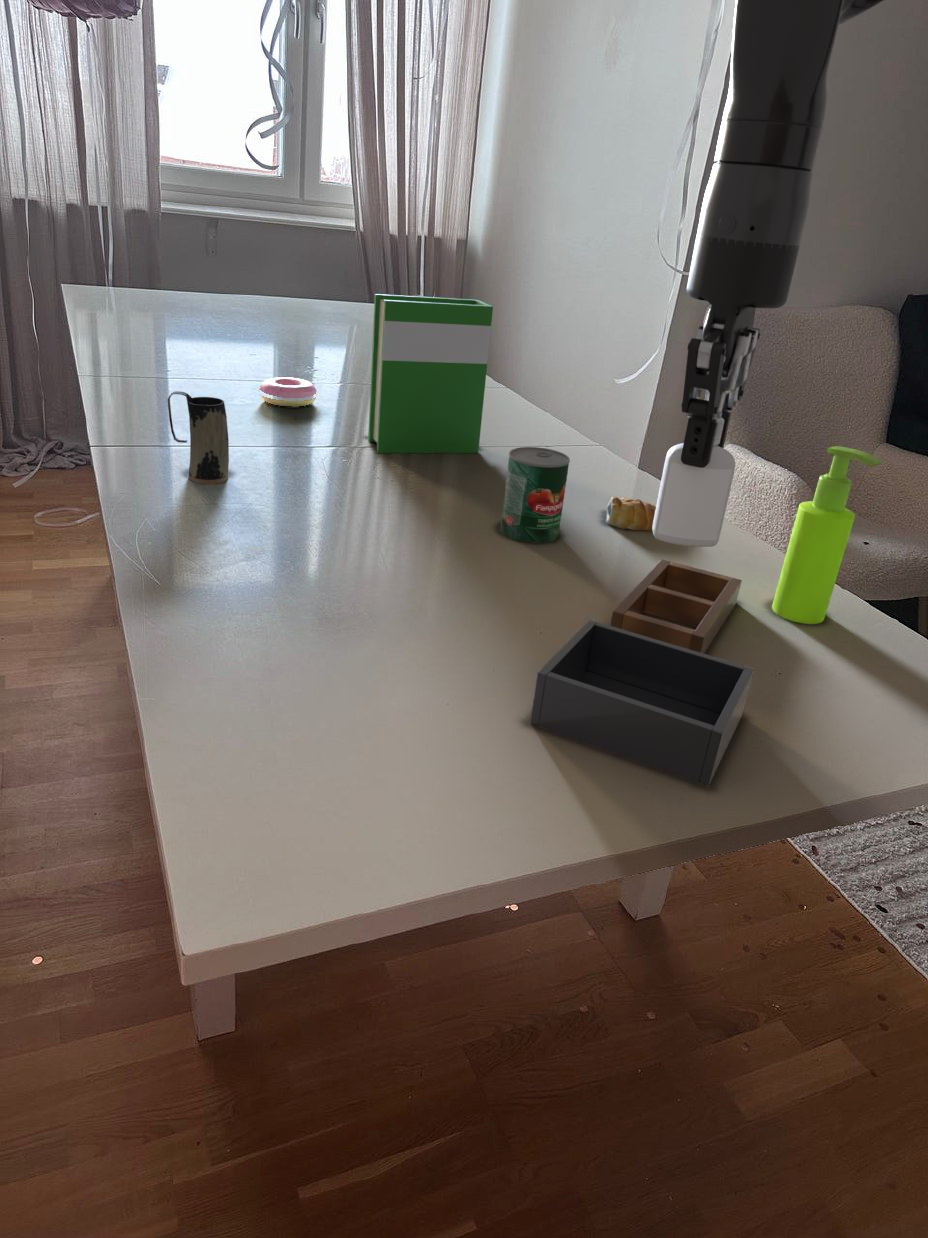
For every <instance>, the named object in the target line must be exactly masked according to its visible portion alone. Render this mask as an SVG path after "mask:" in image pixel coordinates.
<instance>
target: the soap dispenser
mask: <svg viewBox="0 0 928 1238" xmlns="http://www.w3.org/2000/svg"><path fill="white" fill-rule="evenodd" d="M826 454H829V455H833V457H832V462H831V466H830V468H829V472H826V473H825V474H821V475H819V478H818V481H817V484H816V488H815V492H814V495H813V498H812V500H810V501H809V500H808V501H803V502H801V503H799V504H798V508H797V512H796V516H795V520H794V523H793V527H792V531H791V535H790V538H789V541H788V545H787V549H786V553H785V556H784V560H783V564H782V568H781V572H780V575H779V579H778V582H777V586H776V590H775V594H774V597H773V598H774V599H773V601H772V605H771V609H772V611H773V612H774V614H776V615H778V616H779V617H781V618H783V619H785V620H788V621H791V622H794V623H799V624H805V625H818V624H820V623H823V622H824V621H825V618H826V615H827V611H828V608H829V604H830V602H831V598H832V594H833V591H834V588H835V585H836V582H837V578H838V575H839V571H840V569H841V565H842V561H843V559H844V554H845V552H846V548H847V545H848V542H849V538H850V535H851V532H852V528H853V525H854V522H855V518H856V514H855V513H854V512H853V511H852V510H851V509H848V508H846V507H847V506H846V505H847V502H848V500H849V495H850V492H851V489H852V485H853V481H852V480H851V479H849V477H848V476H847V472H848V470H849V466H850V462H851V459H852V460H854V461H858V462H860V463H863V464H864V465H867V466H868V467H876V466H878V465H881V464H883V463H884V462H883V461H882V460H881V459H879V457H876V456H874V455H873V454H870V453H868V452H866V451H863V450H859V449H855V448H851V447H845V446H839V445H835V446H830V447H828V448H827V451H826Z"/></svg>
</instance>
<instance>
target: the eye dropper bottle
mask: <svg viewBox="0 0 928 1238" xmlns="http://www.w3.org/2000/svg"><path fill="white" fill-rule="evenodd" d="M723 426H724V419H723V418H720V419H719V421H718V426H717V430H716V435H715V439H714V444H713V449H712V453H711V458H710V462H709V464H708V465H707V466H705V467H704V468H699V467H695V466H690V465H685V464H683V463H682V461H681V454H682V449H683V444H684V442H682V443H678V444H675V445H673V446H672V447H670V448H669V449H668V451H666V456H665V459H664V464H663V469H662V474H661V479H660V484H659V490H658V494H657V500H656V505H655V507H656V510H655V515H654V520H653V526H652V530H651V531H652V533H653V537H654V538H655V539H656V540H658V541H661V542H663V543H669V544H672V545H677V546H685V547H692V548H693V547H694V548H708V547H709V548H710V547H715V546H717V544H718V543H719V541H720V537H721V533H722V528H723V525H724V524H723V523H724V520H725V515H726V511H727V507H728V502H729V498H730V493H731V489H732V484H733V480H734V474H735V470H736V459H735V458H734V455H733V454H732V453H731V452H730V451H729V450H727V449H725V448H721V447H719V446H718V444H720V439H721V435H722V430H723Z"/></svg>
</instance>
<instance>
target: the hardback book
mask: <svg viewBox="0 0 928 1238" xmlns="http://www.w3.org/2000/svg"><path fill="white" fill-rule="evenodd" d="M373 301H374V302H373V323H372V327H373V328H372V345H371V369H370V388H369V389H370V391H369V408H368V409H369V412H368V431H367V432H368V433H367V435H368V436H367V441H368V442H369V443H376V452H377V454H479V450H480V441H481V440H480V439H481V430H482V429H481V428H482V420H483V412H484V411H483V410H484V409H483V408H484V401H485V400H484V398H485V392H486V391H485V390H486V381H487V380H486V379H487V371H488V361H489V352H490V351H489V349H490V341H491V330H492V321H493V312H494V306H492V305H490V304H488V303H486V302H483V300H482V301H481V300H479V299H471V298H470V299H468V298H453V297H451V298H450V297H435V296H434V297H433V296H418V295H402V294H401V295H400V294H399V295H398V294H382V293H374V300H373Z"/></svg>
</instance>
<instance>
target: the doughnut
mask: <svg viewBox="0 0 928 1238" xmlns="http://www.w3.org/2000/svg"><path fill="white" fill-rule="evenodd" d="M259 390H261V391H262V392H264V393H266V394H269V395H273V396H277V397H282V398H305V397H310V396H313V395H314V394H316V392H317V393H318V391H317V390H318V388H316V387H315V385H314V384H313V382H310V381H308V380H307V379H301V378H294V377H285V376H281V377H273V378H267V379H266V380H264V381H262V382H260V385H259ZM260 398H261V399H262V400H263V401H264V402H265V401H266V402H265V403H267V402H268V403H267V404H269V403H271V404H274V405H273V406H275V405H280V406H292V407H291V408H300V407H299V406H304V407H307V406H306V405H308V406H310V405H312V404H313V403H314V402H315V401H316V399H317V396H316V397H315V398H313V399H310V400H304V401H284V400H276V399H271V398H267V397H264V396H262V395H261V393H260ZM311 403H312V404H311ZM271 404H270V405H271ZM309 404H310V405H309ZM280 406H279V407H280Z"/></svg>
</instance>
